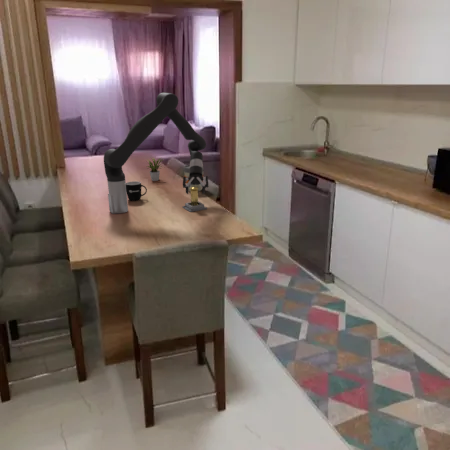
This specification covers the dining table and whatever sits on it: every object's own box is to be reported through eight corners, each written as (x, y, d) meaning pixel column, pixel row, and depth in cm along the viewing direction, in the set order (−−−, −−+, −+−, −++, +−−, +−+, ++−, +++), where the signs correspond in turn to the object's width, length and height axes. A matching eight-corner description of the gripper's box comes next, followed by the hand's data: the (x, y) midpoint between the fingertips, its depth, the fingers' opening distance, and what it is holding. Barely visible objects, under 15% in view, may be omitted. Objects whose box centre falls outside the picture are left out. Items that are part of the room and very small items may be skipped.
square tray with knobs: (190, 212, 231) (190, 207, 231) (182, 207, 240) (182, 203, 239) (207, 209, 236) (206, 204, 235) (198, 204, 244) (198, 200, 243)
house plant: (169, 177, 312) (167, 155, 307) (164, 182, 299) (163, 158, 294) (149, 177, 313) (148, 155, 308) (144, 182, 300) (142, 158, 295)
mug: (127, 202, 252) (125, 185, 248) (126, 198, 260) (125, 181, 257) (148, 200, 254) (146, 183, 251) (146, 196, 263) (145, 180, 259)
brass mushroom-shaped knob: (192, 208, 235) (192, 189, 231) (189, 206, 239) (188, 187, 235) (200, 207, 237) (199, 188, 233) (196, 205, 241) (196, 186, 237)
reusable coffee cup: (201, 192, 271) (200, 168, 266) (182, 191, 273) (181, 168, 268) (206, 187, 282) (205, 164, 277) (187, 187, 285) (186, 164, 280)
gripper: (182, 165, 243) (181, 190, 236) (208, 164, 242) (207, 189, 235) (184, 172, 249) (183, 197, 242) (209, 172, 249) (208, 196, 242)
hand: (195, 193), depth 239 cm, fingers open, 8 cm apart
